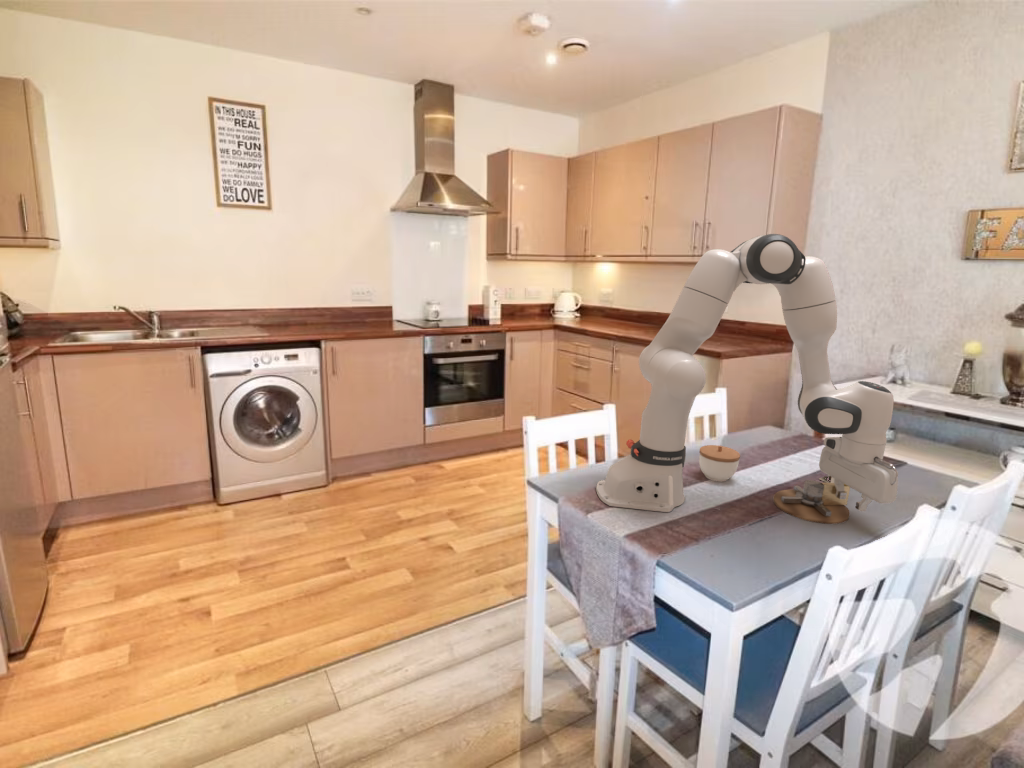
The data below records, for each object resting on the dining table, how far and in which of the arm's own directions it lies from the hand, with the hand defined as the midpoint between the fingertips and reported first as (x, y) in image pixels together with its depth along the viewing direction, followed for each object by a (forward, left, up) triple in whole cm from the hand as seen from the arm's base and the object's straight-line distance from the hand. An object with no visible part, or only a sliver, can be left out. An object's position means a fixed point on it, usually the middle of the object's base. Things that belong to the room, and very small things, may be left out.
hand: (850, 503), depth 133 cm
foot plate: (-6, +5, -4) cm, 9 cm away
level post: (+6, +13, -4) cm, 15 cm away
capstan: (-6, +5, -2) cm, 8 cm away
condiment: (+12, +22, -4) cm, 26 cm away
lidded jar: (-23, +23, -4) cm, 33 cm away
